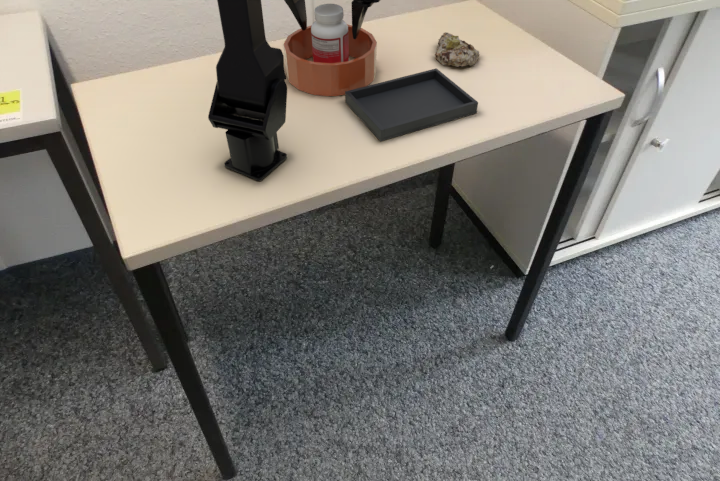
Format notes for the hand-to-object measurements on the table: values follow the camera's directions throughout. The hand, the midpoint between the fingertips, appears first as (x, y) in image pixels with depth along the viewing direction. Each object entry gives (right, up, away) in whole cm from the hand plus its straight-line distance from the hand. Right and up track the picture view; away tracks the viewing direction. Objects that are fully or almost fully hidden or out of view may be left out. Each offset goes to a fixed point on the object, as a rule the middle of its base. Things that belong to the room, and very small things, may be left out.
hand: (329, 33), depth 87 cm
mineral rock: (+23, 0, +10) cm, 24 cm away
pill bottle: (0, -5, +5) cm, 7 cm away
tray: (+13, -13, -3) cm, 19 cm away
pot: (0, -5, +5) cm, 7 cm away
